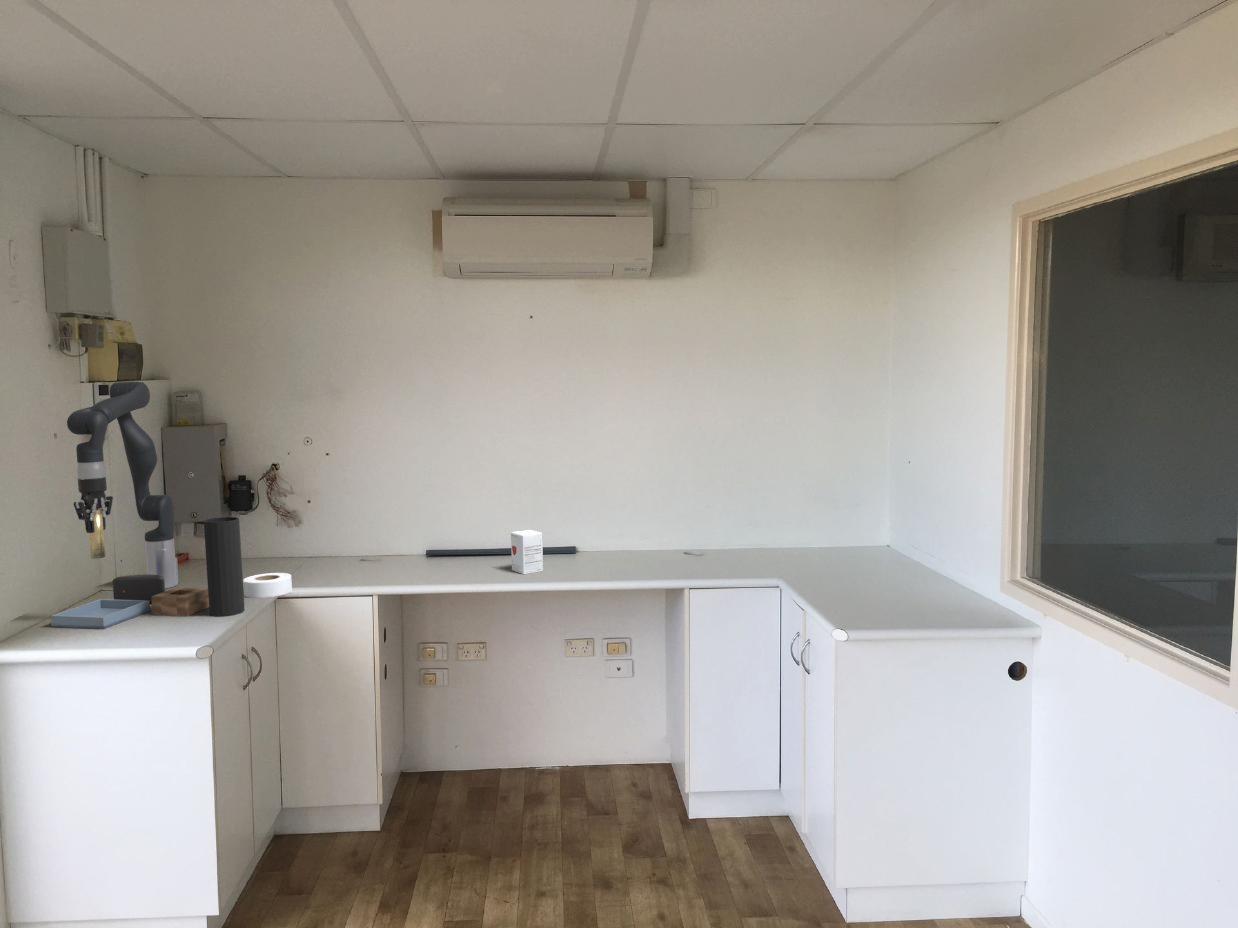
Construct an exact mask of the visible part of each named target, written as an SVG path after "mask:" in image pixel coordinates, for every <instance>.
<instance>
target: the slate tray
mask: <svg viewBox="0 0 1238 928" xmlns="http://www.w3.org/2000/svg"><path fill="white" fill-rule="evenodd" d="M150 605H151V604H150V602H149V601H144V600H115V599H114V598H112V599H111V598H110V599H107V598H99V599H96V600H94V601H93V600H92V601H91V602H88V603H84V604H81V605H79V606H76V607H72V608H70V609H67V610H66V609H65V610H64V611H60V612H57V613H55V614H51V615H50V623H51V628H64V627H65V628H66V629H68V628H69V629H89V630H90V629H95V630H105V629H107V628H110V627H111V628H112V627H113V626H115V625H118V624H121V623H124V622H126V621H129V620H131V619H134V618H136V617H139V616H141V615H145V614H147V613H150V612H151V606H150ZM65 628H64V629H65Z"/></svg>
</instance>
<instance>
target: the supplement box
mask: <svg viewBox="0 0 1238 928" xmlns="http://www.w3.org/2000/svg"><path fill="white" fill-rule="evenodd" d="M510 547H511V548H510V550H511V571H512V572H516V573H519V574H522V575H527V574H534V573H540V572H543V571H544V558H543V557H544V556H543V555H544V554H543V548H544V547H543V532H540V531H538V530H533V529H526V530H519V531H518V530H516V531H511V532H510Z"/></svg>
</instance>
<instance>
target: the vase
mask: <svg viewBox="0 0 1238 928" xmlns="http://www.w3.org/2000/svg"><path fill="white" fill-rule="evenodd" d="M240 527H241V526H240V518H239V517H237V516H221V517H213V518H207V519H205V520H203V530H204V546H205V547H204V548H205V561H206V562H205V563H206V576H207V577H206V578H207V588H208V596H209V607H208V608H209V609H208V610H209V615H210V616H213V617H218V618H219V617H229V616H235V615H239V614H242V613H244V612H245V610H246V609H245V596H244V588H243V580H244V577H243V576H244V575H243V563H242V562H243V561H242V545H241V544H242V543H241V528H240Z"/></svg>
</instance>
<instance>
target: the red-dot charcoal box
mask: <svg viewBox="0 0 1238 928" xmlns="http://www.w3.org/2000/svg"><path fill="white" fill-rule="evenodd" d="M165 591H166V588H165V584H164V578H163V577H162V576H161V575H149V574H147V573H146V574H131V575H130V574H129V575H122V576H116V577H114V578H113V580H112V593H113V599H115V600H144V601H149V602H150V605H152V598H151V597H152V596H154V595H157V594H160V593H163V592H165Z"/></svg>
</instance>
